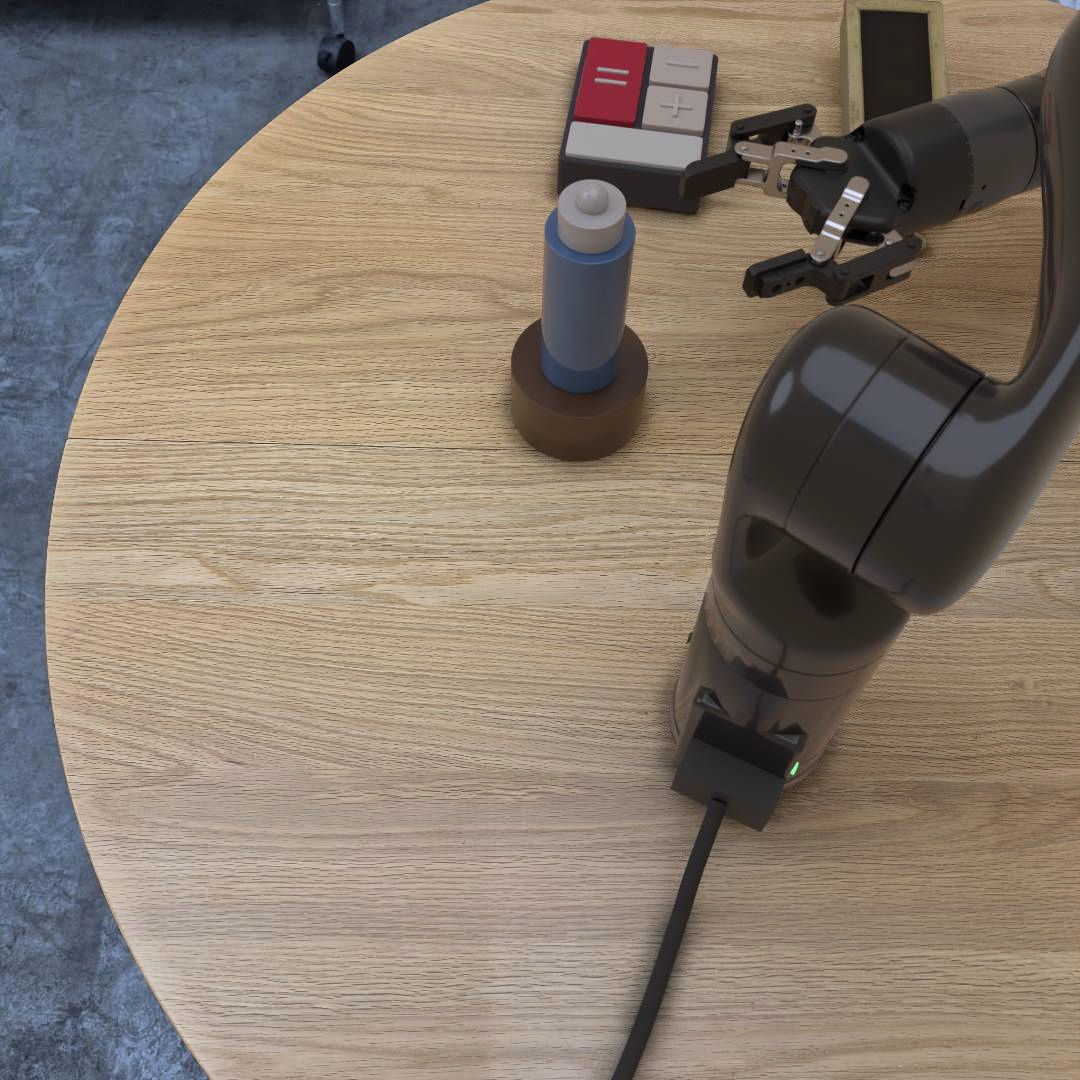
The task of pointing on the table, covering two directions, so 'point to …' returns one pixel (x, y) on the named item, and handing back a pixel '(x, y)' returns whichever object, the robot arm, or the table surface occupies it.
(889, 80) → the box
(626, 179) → the calculator
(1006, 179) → the robot arm
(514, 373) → the stand
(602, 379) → the pepper mill
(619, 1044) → the table surface
